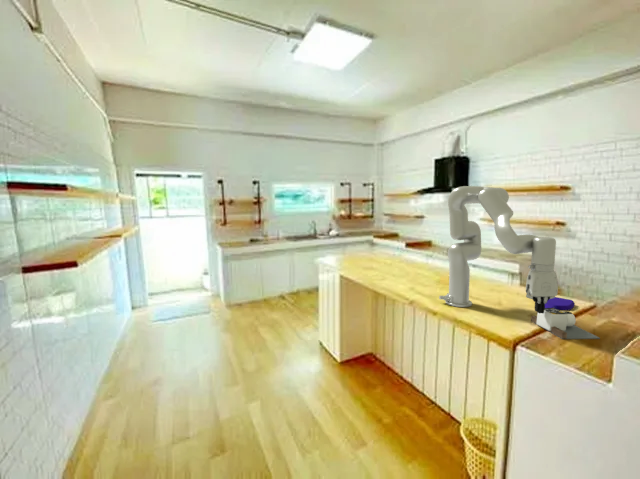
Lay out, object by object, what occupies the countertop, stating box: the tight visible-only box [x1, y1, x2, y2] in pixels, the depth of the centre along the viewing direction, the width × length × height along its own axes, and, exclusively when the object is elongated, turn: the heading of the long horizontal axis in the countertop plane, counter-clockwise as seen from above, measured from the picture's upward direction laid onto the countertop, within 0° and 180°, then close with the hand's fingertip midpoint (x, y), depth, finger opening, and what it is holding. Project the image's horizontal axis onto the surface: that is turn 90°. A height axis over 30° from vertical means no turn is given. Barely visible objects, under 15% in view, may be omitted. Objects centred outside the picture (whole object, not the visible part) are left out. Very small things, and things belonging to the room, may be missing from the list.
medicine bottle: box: [535, 308, 577, 332], centre depth 127 cm, size 7×7×12 cm
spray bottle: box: [545, 296, 576, 311], centre depth 150 cm, size 3×11×24 cm
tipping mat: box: [530, 315, 601, 340], centre depth 126 cm, size 14×18×2 cm
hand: (539, 312), depth 126 cm, fingers closed
